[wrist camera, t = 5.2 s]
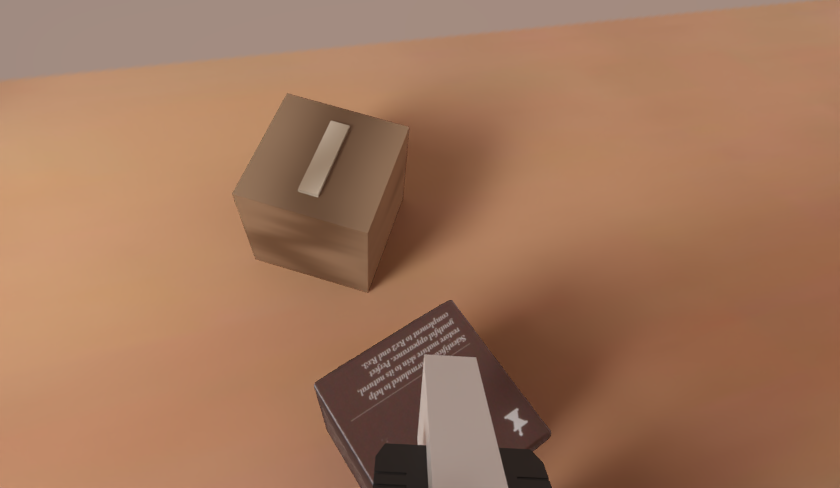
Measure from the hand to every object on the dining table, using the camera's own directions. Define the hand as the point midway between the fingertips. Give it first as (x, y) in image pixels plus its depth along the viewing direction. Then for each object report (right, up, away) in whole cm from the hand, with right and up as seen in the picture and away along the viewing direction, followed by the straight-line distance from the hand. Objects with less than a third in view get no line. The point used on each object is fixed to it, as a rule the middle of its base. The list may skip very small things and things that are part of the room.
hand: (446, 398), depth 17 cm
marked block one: (-5, +5, +14) cm, 16 cm away
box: (-1, -5, +9) cm, 10 cm away
